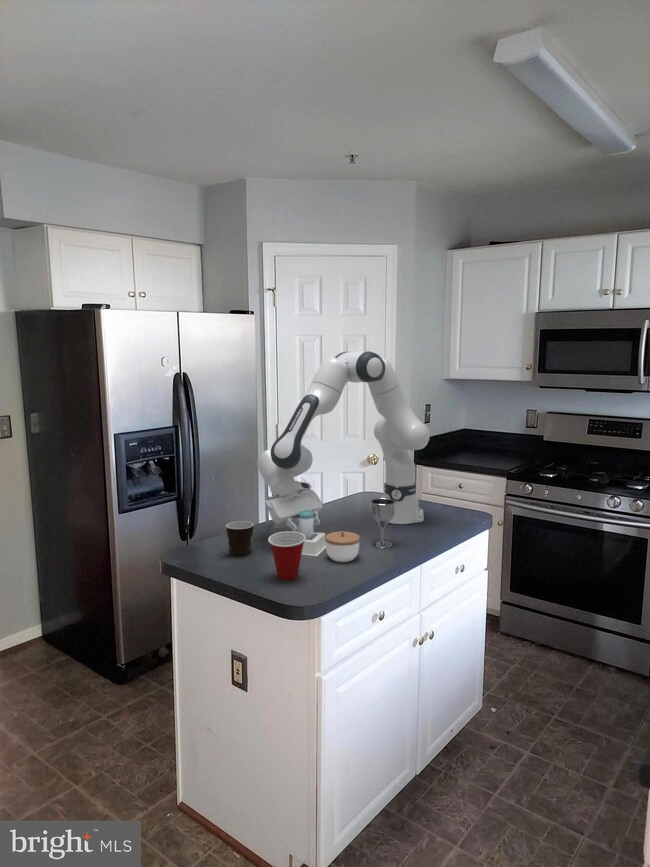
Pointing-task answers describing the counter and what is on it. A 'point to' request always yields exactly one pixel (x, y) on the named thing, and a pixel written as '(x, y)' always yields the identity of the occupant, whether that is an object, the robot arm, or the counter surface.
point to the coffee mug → (240, 538)
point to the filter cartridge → (306, 524)
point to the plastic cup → (287, 553)
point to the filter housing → (314, 544)
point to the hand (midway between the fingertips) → (307, 527)
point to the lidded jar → (342, 546)
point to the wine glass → (382, 517)
